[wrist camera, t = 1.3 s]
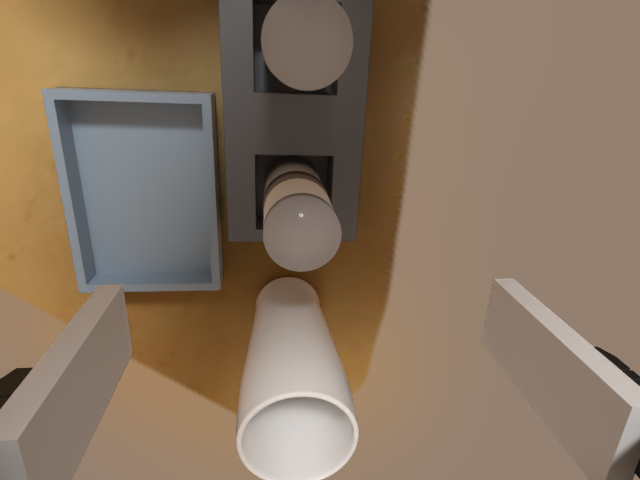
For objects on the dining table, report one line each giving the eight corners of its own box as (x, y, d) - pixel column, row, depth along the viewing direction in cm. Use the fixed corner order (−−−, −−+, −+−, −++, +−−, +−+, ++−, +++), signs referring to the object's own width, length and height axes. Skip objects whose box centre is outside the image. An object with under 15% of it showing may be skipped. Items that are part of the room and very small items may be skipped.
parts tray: (59, 87, 29) (41, 88, 27) (215, 92, 30) (210, 94, 28) (92, 277, 34) (79, 292, 32) (223, 275, 36) (220, 290, 33)
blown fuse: (263, 154, 31) (261, 197, 21) (320, 155, 32) (344, 197, 22) (264, 208, 33) (262, 273, 23) (318, 209, 33) (340, 272, 23)
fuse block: (224, -12, 28) (217, -24, 24) (361, -4, 29) (374, -13, 25) (232, 222, 34) (228, 241, 30) (346, 222, 35) (355, 241, 31)
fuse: (262, 14, 28) (259, -16, 18) (325, 17, 28) (357, -10, 18) (263, 81, 29) (260, 90, 19) (323, 84, 30) (351, 93, 20)
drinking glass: (267, 346, 39) (266, 503, 25) (233, 284, 36) (211, 421, 22) (338, 318, 38) (377, 461, 24) (309, 253, 36) (335, 373, 22)
